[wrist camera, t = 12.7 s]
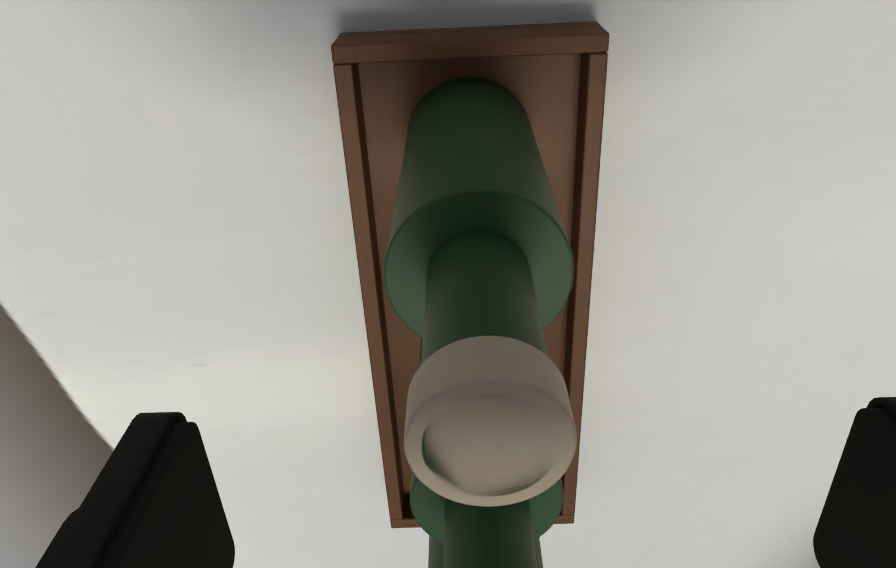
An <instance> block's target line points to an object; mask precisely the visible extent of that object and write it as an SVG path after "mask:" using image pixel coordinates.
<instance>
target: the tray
mask: <svg viewBox="0 0 896 568" xmlns="http://www.w3.org/2000/svg"><path fill="white" fill-rule="evenodd" d="M608 44H609V33H608V32H607V31H606V30H605V29H604V28H603V27H602V26H601V25H600V24H599V23H598V22H575V23H553V24H531V25H509V26H486V27H464V28H442V29H420V30H398V31H375V32H353V33H341V34H340V35H339V36H338V37H337V39H336V40H335V41H334V43H333V44H332V45H331V52H332V59H333V63H334V65H333V68H334V76H335V84H336V92H337V100H338V108H339V116H340V124H341V132H342V140H343V148H344V156H345V164H346V172H347V180H348V188H349V196H350V204H351V212H352V220H353V228H354V236H355V243H356V251H357V259H358V267H359V275H360V283H361V291H362V299H363V307H364V315H365V323H366V331H367V339H368V347H369V355H370V363H371V371H372V379H373V387H374V395H375V403H376V411H377V419H378V427H379V435H380V443H381V451H382V458H383V466H384V474H385V482H386V490H387V498H388V506H389V514H390V522H391V527H392V528H411V527H421V526H420V525H419V524H418V522H417V521H416V519H415V517H414V515H413V513H412V509H411V506H410V488H411V474H412V469H411V467H410V465H409V463H408V461H407V458H406V455H405V451H404V431H405V419H406V408H407V396H408V390H409V386H410V383H411V381H412V378H413V376H414V375H415V373H416V371H417V370H418V368H419V358H420V343H421V337H419V336H418V335H416V334H415V333H414V332H412V331H411V330H410V329H409V328H408V327H407V326H406V325H405V324H404V323H403V321H402V320H401V319H400V318H399V317H398V315H397V314H396V312H395V310H394V309H393V307H392V305H391V303H390V300H389V298H388V296H387V292H386V288H385V282H384V262H385V256H386V251H387V245H388V240H389V234H390V229H391V223H392V217H393V212H394V206H395V201H396V195H397V190H398V184H399V179H400V173H401V167H402V162H403V156H404V151H405V145H406V140H407V134H408V128H409V123H410V120H411V117H412V115H413V112H414V110H415V108H416V107H417V105H418V104H419V102H420V101H421V100H422V99H423V98H424V96H425V95H426V94H428V93H429V92H430V91H431V90H432V89H434V88H435V87H437V86H438V85H440V84H442V83H444V82H447V81H450V80H453V79H457V78H462V77H478V78H484V79H488V80H491V81H493V82H496V83H498V84H500V85H502V86H503V87H505V88H506V89H508V90H509V91H510V92H511V93H512V94H513V95H515V96H516V98H517V99H518V100H519V101H520V103H521V104H522V106H523V108H524V109H525V111H526V114H527V116H528V119H529V122H530V125H531V128H532V131H533V134H534V137H535V140H536V143H537V146H538V149H539V152H540V155H541V158H542V161H543V164H544V168H545V171H546V174H547V177H548V180H549V183H550V186H551V189H552V192H553V195H554V198H555V201H556V204H557V207H558V210H559V213H560V216H561V219H562V222H563V225H564V228H565V232H566V235H567V238H568V241H569V244H570V247H571V251H572V255H573V262H574V278H573V283H572V288H571V291H570V294H569V297H568V299H567V301H566V303H565V305H564V307H563V309H562V310H561V312H560V313H559V315H558V316H557V317H556V319H555V320H554V321H553V322H552V323H551V324H550V325H549V326H548V327H547V328H546V329H545V330H544V331H543V334H544V338H545V343H546V348H547V353H548V357H549V358H550V359H551V360H552V361H553V362H554V364H555V365H556V366H557V368H558V369H559V370H560V372H561V374H562V376H563V378H564V381H565V384H566V388H567V392H568V396H569V401H570V405H571V410H572V414H573V418H574V423H575V427H576V434H577V444H576V449H575V454H574V456H573V459H572V461H571V464H570V465H569V467H568V469H567V470H566V472H565V473H564V474H563V476H562V477H561V482H562V487H563V494H564V495H563V504H562V509H561V511H560V513H559V516H558V518H557V519H556V521H555V522H554V524H567V523H574V513H575V500H576V486H577V473H578V459H579V445H580V431H581V417H582V404H583V390H584V376H585V362H586V348H587V335H588V321H589V307H590V293H591V279H592V265H593V252H594V238H595V224H596V210H597V196H598V183H599V169H600V155H601V141H602V127H603V114H604V100H605V86H606V72H607V58H608V54H607V51H608Z"/></svg>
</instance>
